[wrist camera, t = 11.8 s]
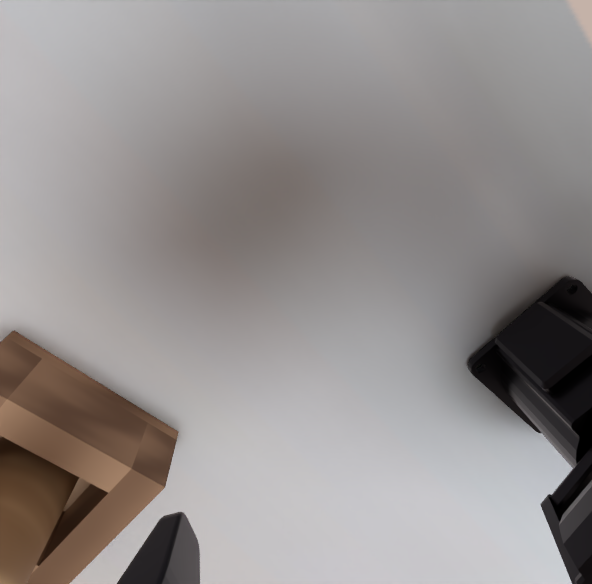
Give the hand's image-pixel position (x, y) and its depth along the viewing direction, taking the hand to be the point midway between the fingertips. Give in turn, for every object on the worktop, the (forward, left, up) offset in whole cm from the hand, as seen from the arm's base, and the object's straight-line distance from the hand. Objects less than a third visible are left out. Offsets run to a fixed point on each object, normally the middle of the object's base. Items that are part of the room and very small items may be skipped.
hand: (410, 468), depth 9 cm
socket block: (+4, +16, -13) cm, 21 cm away
